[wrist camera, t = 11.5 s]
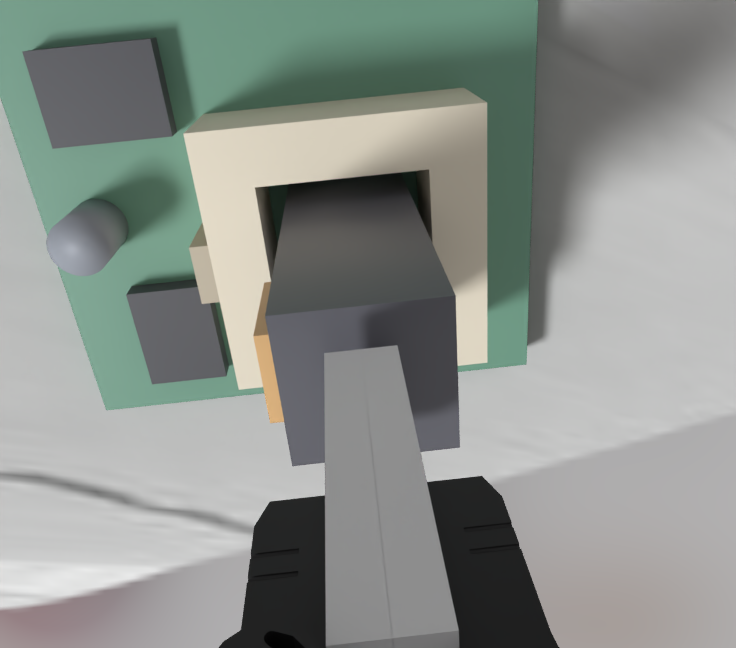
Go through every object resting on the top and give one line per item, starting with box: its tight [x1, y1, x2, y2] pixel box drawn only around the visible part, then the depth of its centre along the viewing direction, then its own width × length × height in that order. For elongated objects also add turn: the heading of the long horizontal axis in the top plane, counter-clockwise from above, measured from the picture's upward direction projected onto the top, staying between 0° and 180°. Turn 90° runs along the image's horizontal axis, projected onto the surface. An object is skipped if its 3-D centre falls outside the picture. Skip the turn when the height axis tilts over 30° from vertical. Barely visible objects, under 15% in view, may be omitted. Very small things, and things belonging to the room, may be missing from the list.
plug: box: [253, 172, 460, 466], centre depth 19 cm, size 4×4×11 cm
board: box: [0, 0, 538, 410], centre depth 22 cm, size 18×16×5 cm
